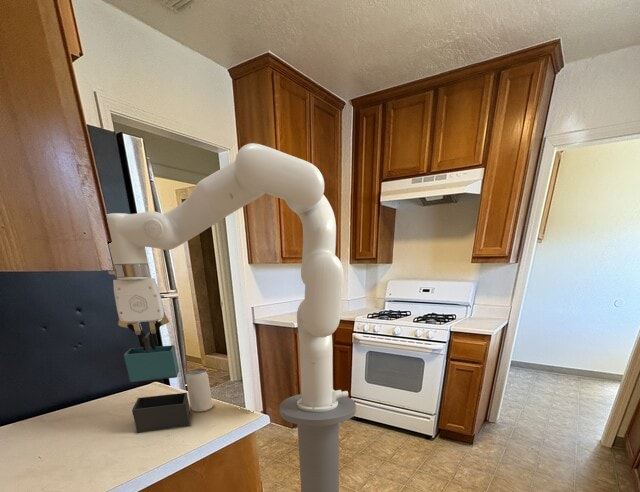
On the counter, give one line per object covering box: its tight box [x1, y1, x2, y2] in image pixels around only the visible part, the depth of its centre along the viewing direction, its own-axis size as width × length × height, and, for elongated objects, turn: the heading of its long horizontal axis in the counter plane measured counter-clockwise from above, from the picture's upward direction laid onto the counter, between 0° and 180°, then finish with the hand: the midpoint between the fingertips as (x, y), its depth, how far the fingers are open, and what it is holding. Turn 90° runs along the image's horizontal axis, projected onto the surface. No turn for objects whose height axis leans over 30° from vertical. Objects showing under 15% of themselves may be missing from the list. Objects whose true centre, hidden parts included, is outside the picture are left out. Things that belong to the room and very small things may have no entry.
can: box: [185, 368, 213, 413], centre depth 108 cm, size 6×6×12 cm
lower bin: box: [131, 392, 191, 434], centre depth 100 cm, size 13×10×7 cm
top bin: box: [123, 331, 180, 383], centre depth 93 cm, size 11×8×11 cm
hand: (150, 348), depth 92 cm, fingers closed on top bin, 1 cm apart
